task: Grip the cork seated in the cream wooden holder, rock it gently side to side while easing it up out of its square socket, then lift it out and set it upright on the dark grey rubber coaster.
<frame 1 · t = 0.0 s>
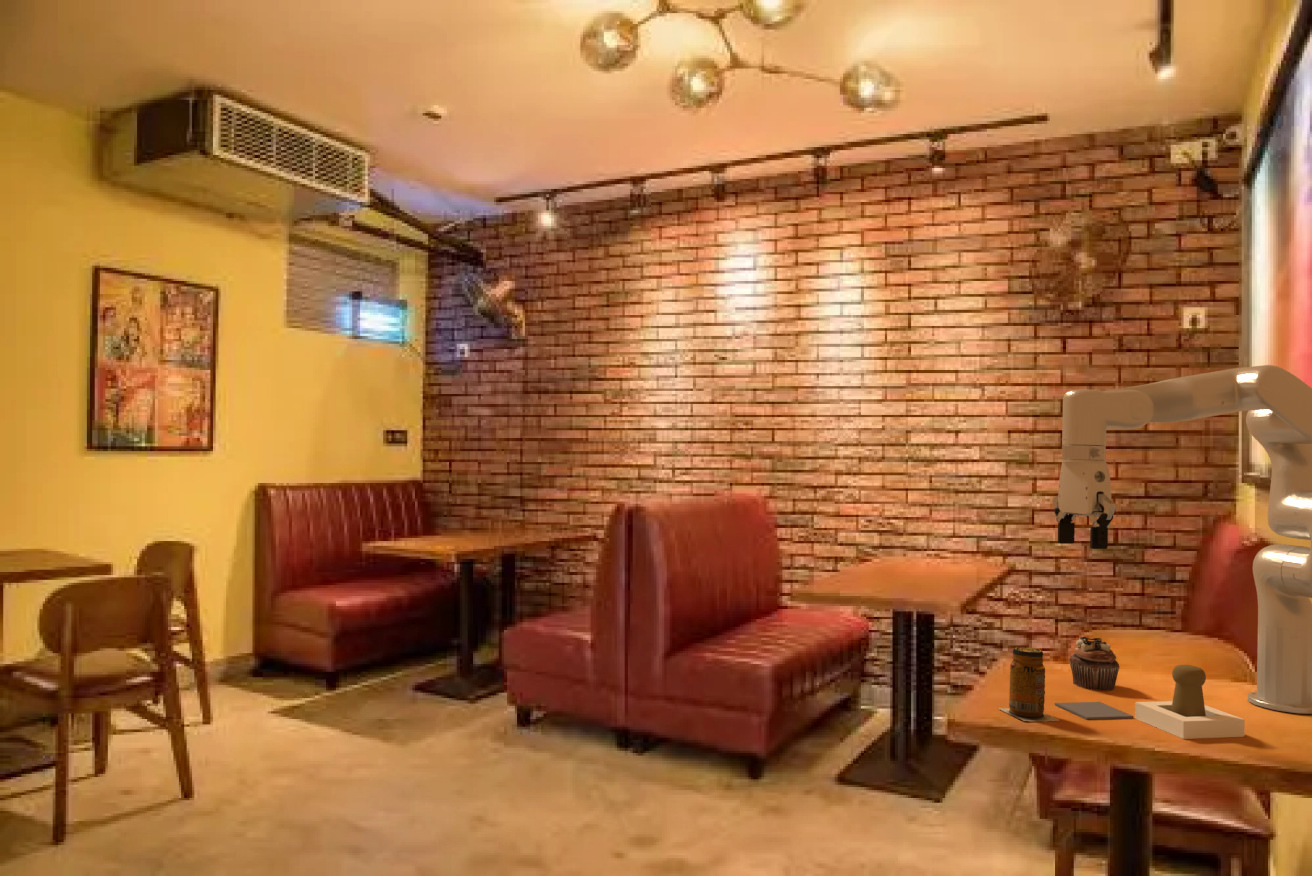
hand: (1081, 545, 173), 31 cm above the table, fingers open, 9 cm apart
condiment: (1028, 716, 170), on the table
cork: (1188, 728, 165), resting in holder
coaster: (1093, 711, 174), on the table
cupcake: (1093, 686, 194), on the table
holder: (1188, 727, 165), on the table
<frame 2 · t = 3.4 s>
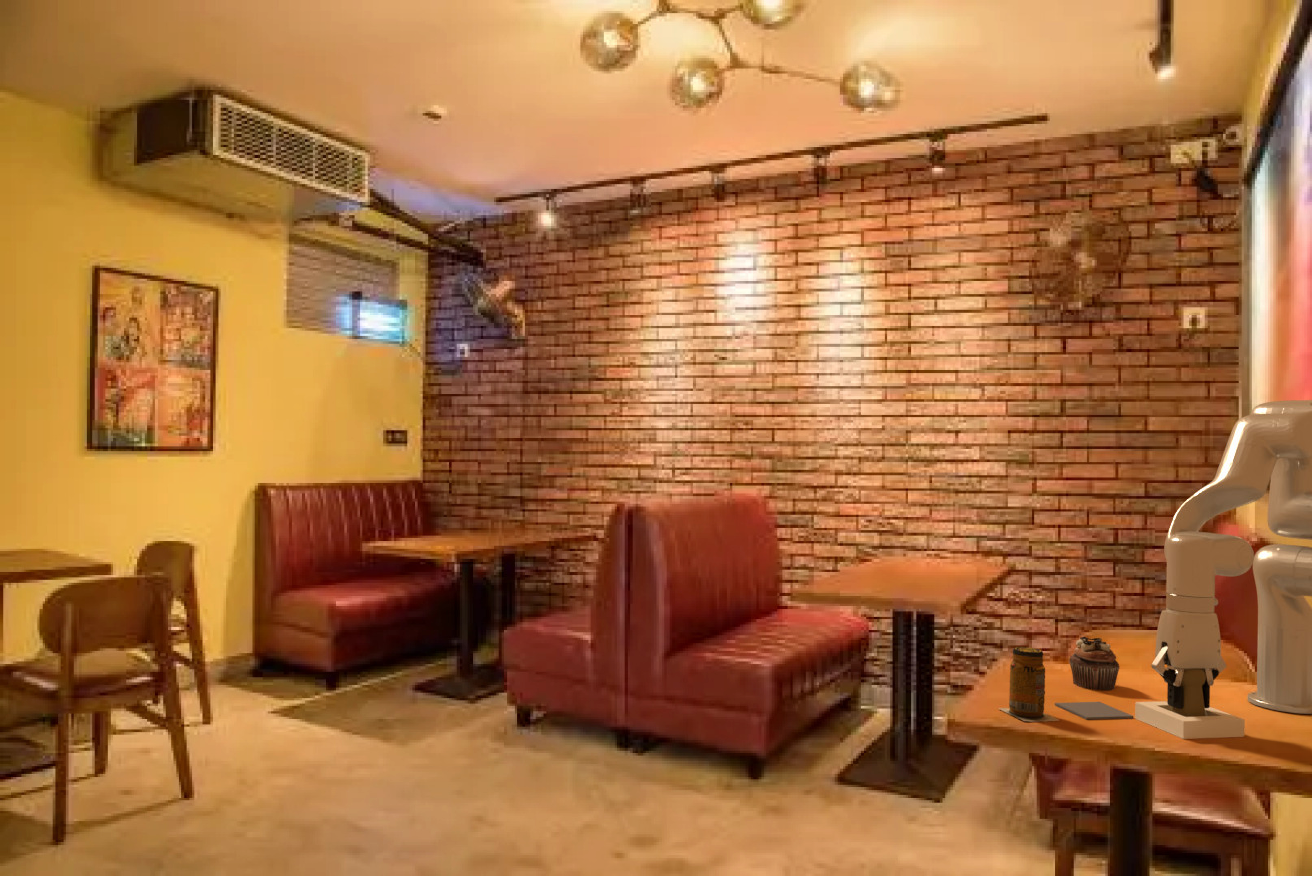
hand: (1188, 705, 165), 4 cm above the table, fingers closed on cork, 4 cm apart
cork: (1188, 728, 165), resting in holder, touching gripper
everything else where it was.
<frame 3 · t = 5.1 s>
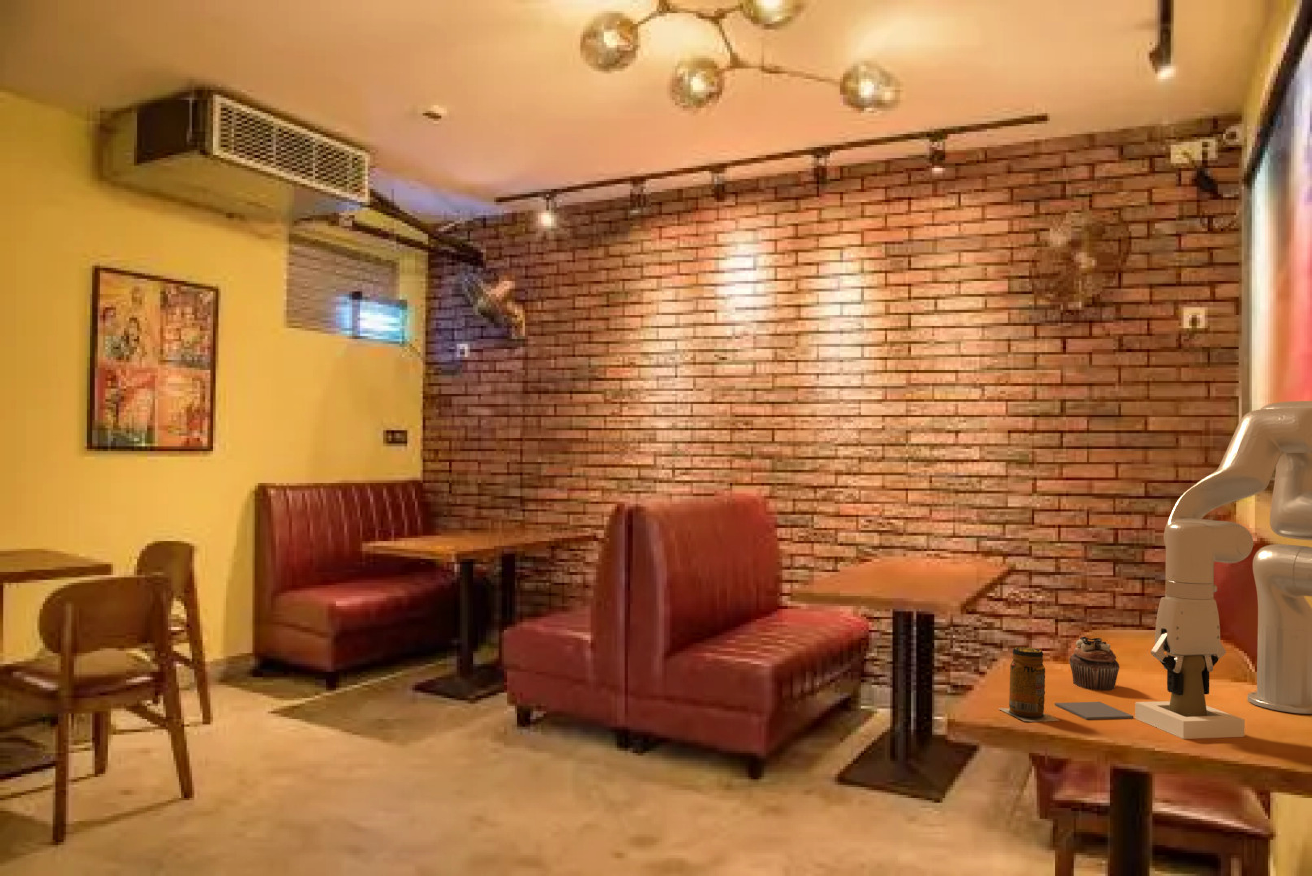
hand: (1188, 691, 165), 6 cm above the table, fingers closed on cork, 4 cm apart
cork: (1187, 714, 165), point 2 cm above the table, touching gripper
everything else where it was.
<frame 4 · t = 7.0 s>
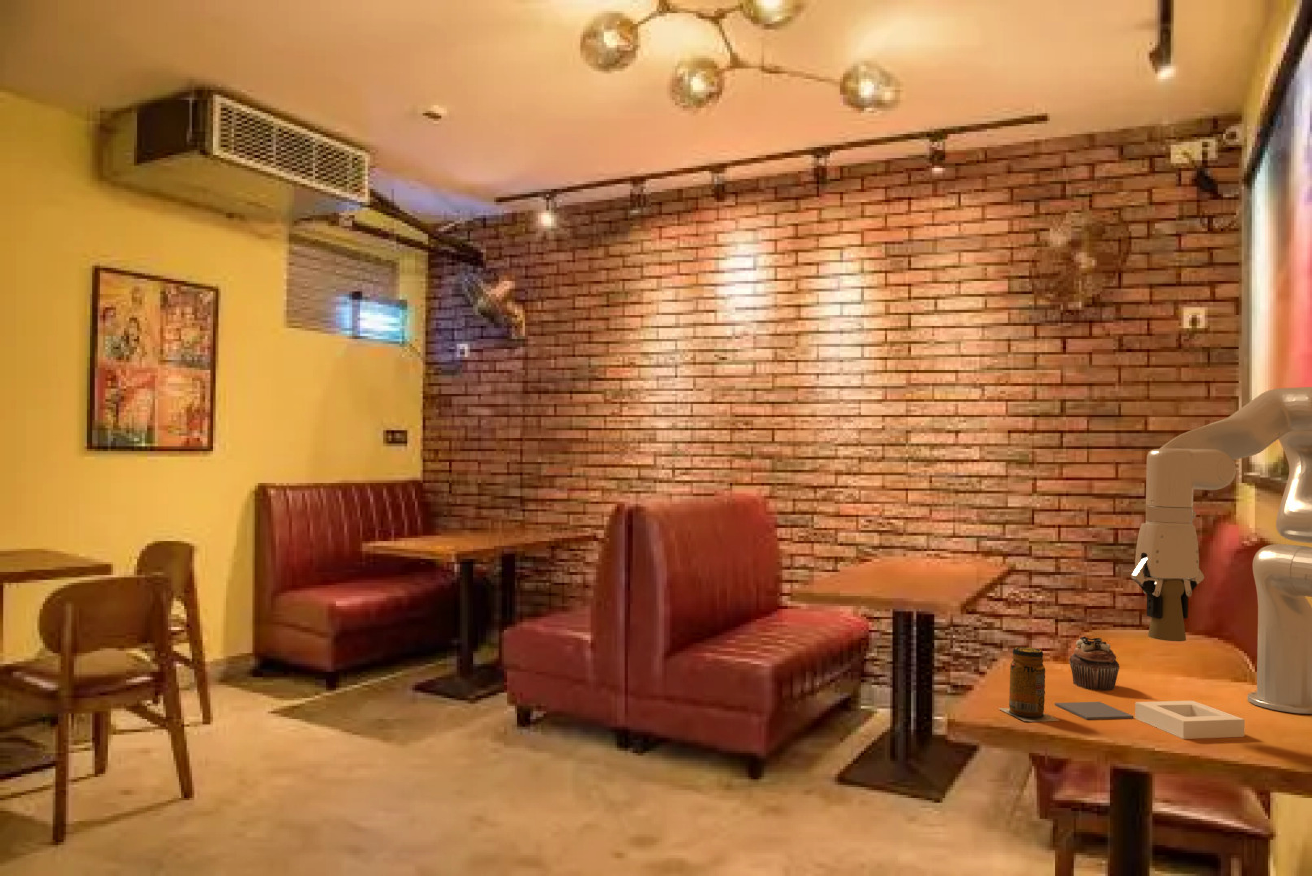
hand: (1167, 616, 167), 19 cm above the table, fingers closed on cork, 4 cm apart
cork: (1166, 638, 167), point 15 cm above the table, touching gripper
everything else where it was.
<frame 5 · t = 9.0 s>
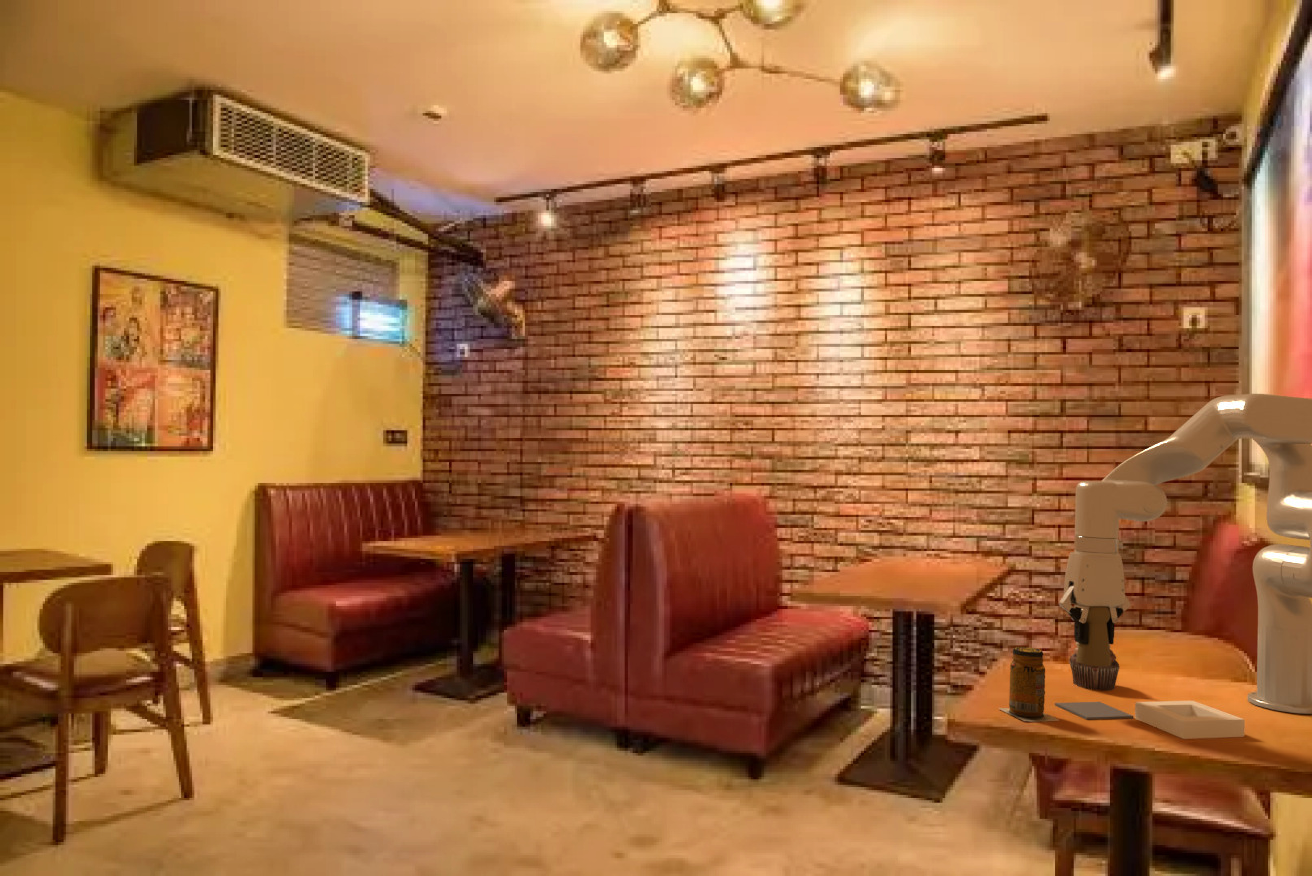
hand: (1094, 641, 174), 13 cm above the table, fingers closed on cork, 4 cm apart
cork: (1093, 663, 174), point 9 cm above the table, touching gripper
everything else where it was.
when the fingers open (6 cm above the table, at t = 10.7 s): cork drops 1 cm, resting on coaster.
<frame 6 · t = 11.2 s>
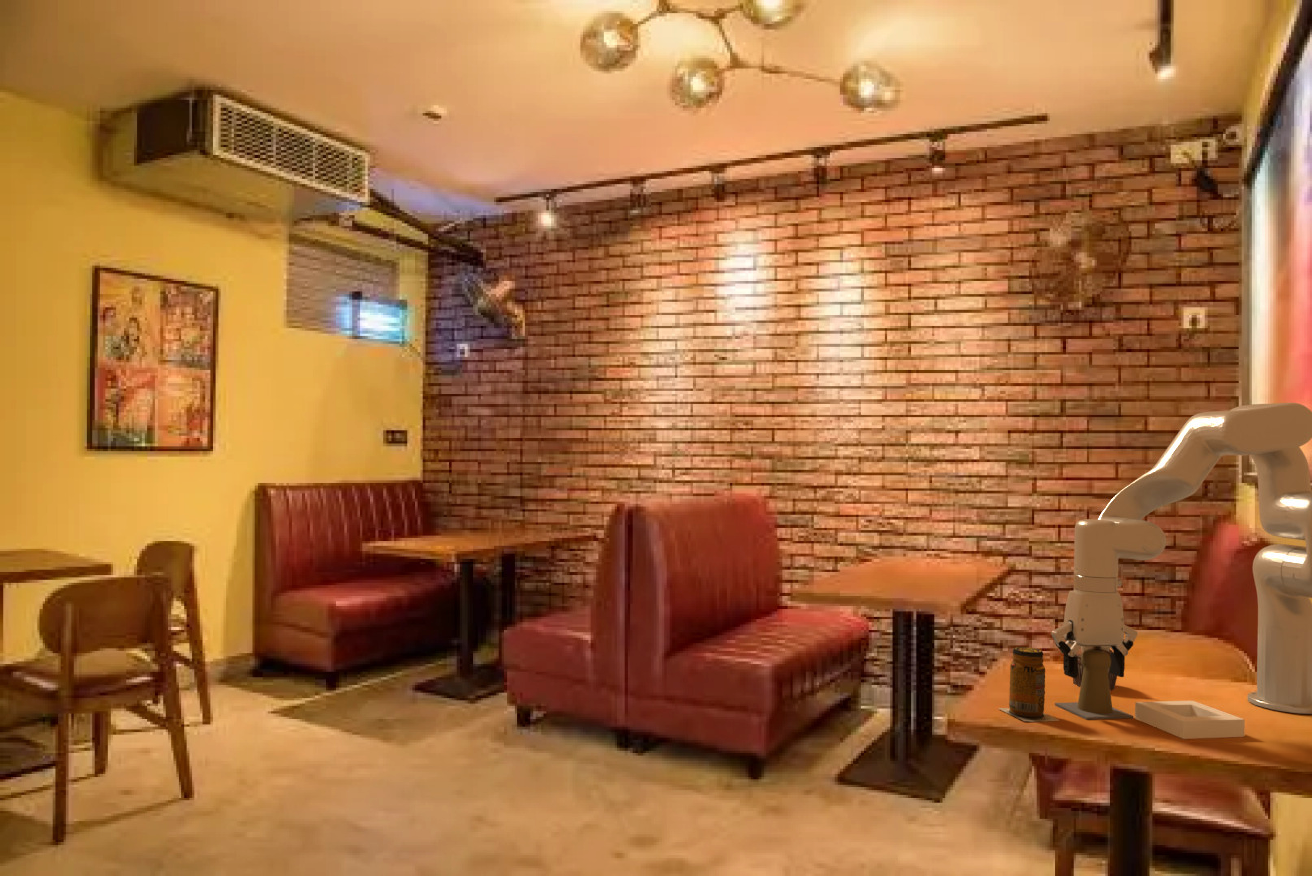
hand: (1093, 675, 174), 7 cm above the table, fingers open, 9 cm apart
cork: (1094, 710, 174), resting on coaster
everything else where it was.
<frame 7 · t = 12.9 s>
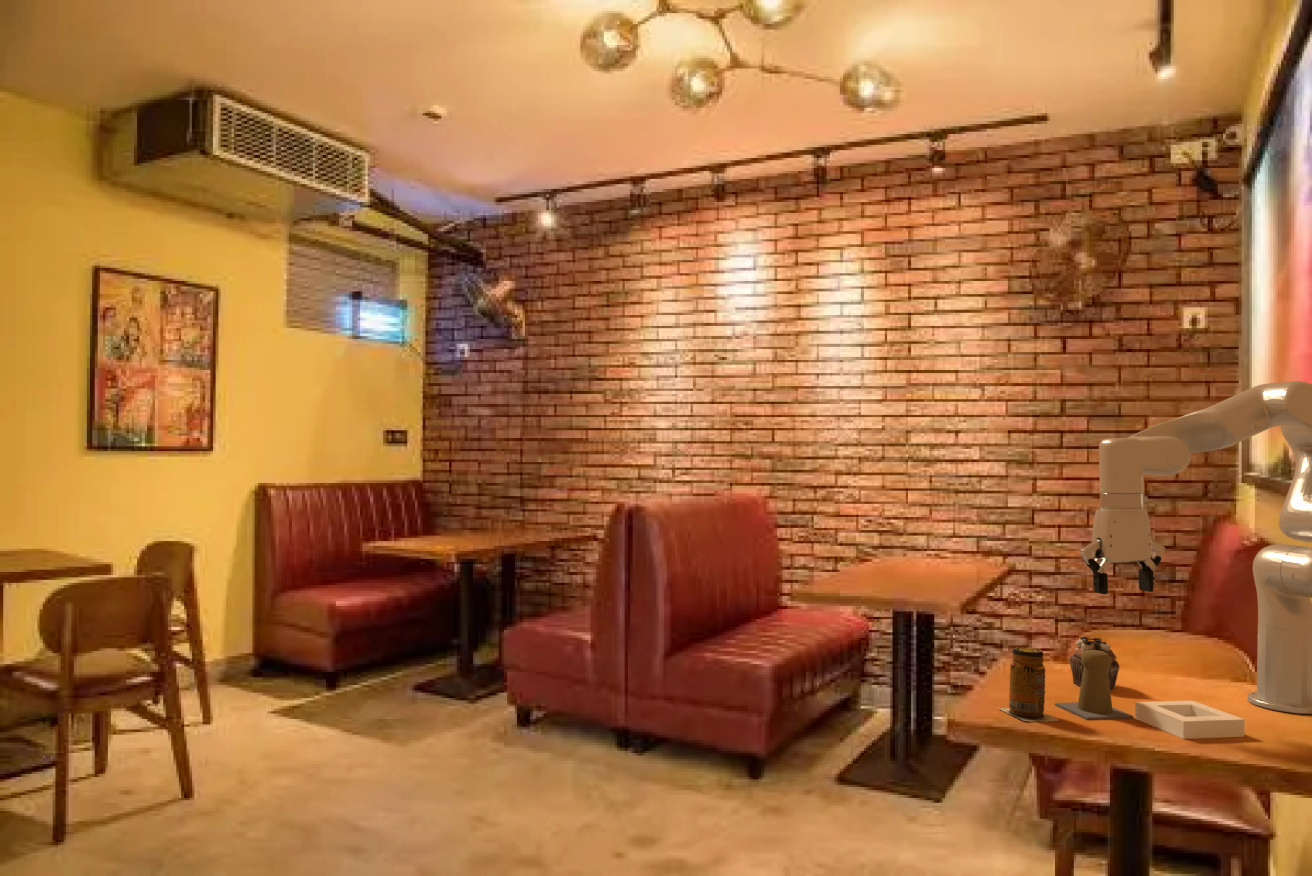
hand: (1123, 591, 176), 22 cm above the table, fingers open, 9 cm apart
nothing on the table moved.
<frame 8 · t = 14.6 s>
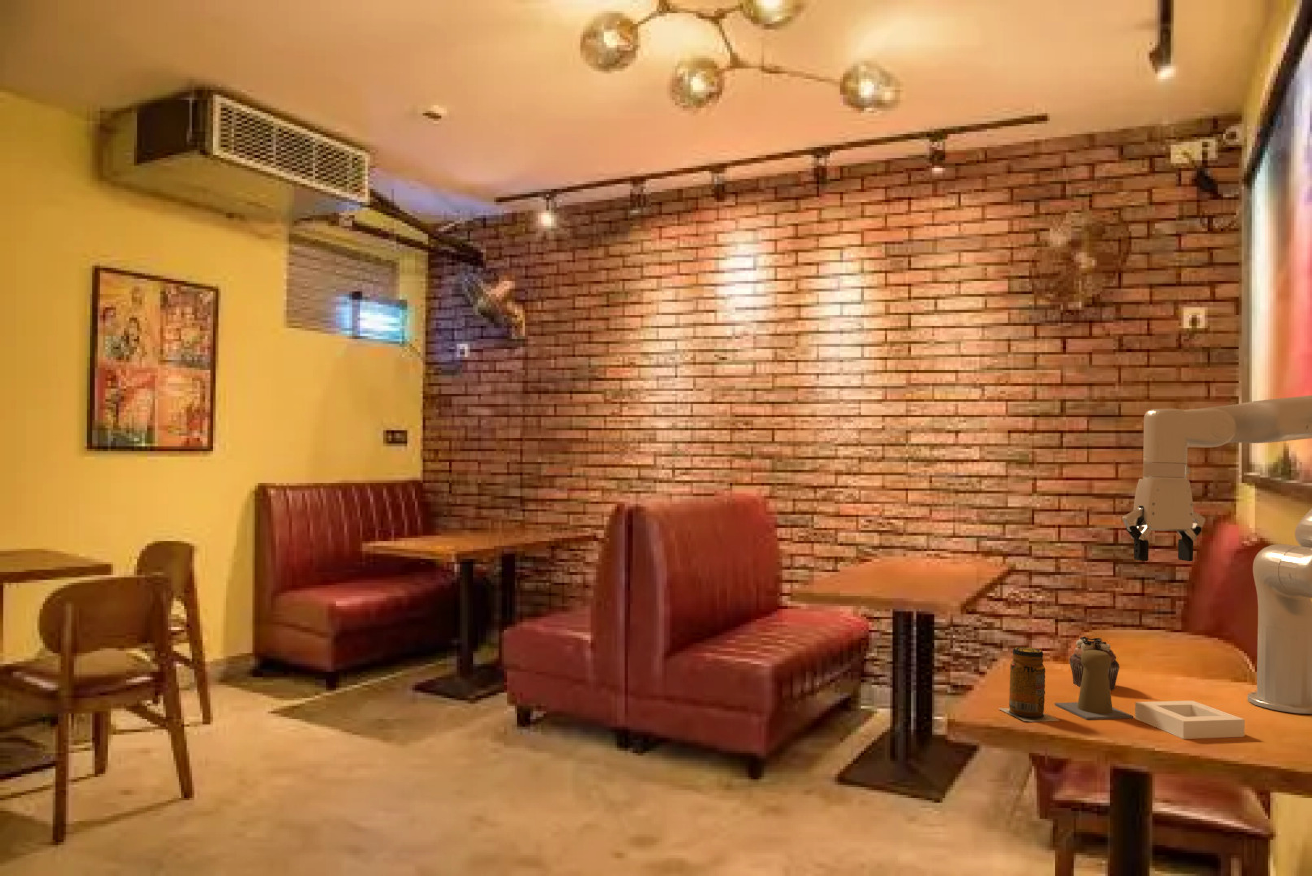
hand: (1163, 560, 179), 28 cm above the table, fingers open, 9 cm apart
nothing on the table moved.
at the end: cork 0.3 cm off-centre on the coaster, point 0.2 cm above the coaster's base; cork tilted 0°; the gripper is holding nothing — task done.
